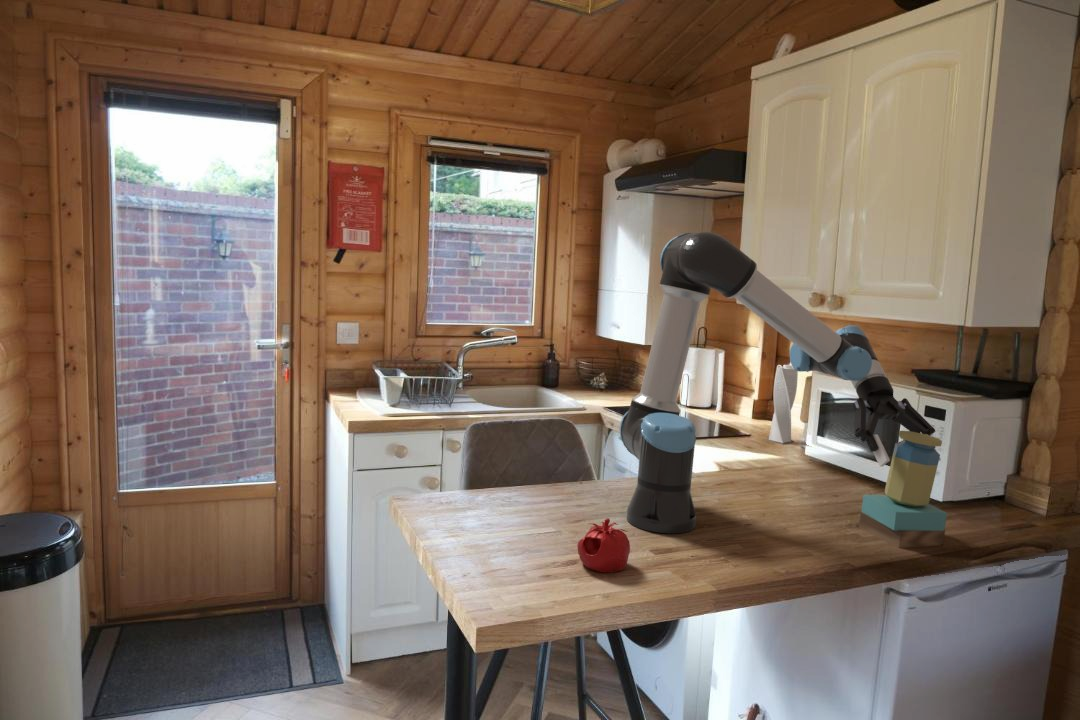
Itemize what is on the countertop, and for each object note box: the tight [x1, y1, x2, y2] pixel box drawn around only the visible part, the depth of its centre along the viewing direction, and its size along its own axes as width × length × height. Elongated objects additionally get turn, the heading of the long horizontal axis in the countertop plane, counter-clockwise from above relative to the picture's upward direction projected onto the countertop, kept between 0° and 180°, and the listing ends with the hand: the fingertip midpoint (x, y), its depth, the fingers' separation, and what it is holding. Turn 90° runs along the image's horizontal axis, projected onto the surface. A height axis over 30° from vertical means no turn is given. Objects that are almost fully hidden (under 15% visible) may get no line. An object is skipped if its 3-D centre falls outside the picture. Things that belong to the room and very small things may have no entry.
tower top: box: [861, 494, 948, 532], centre depth 166 cm, size 12×12×4 cm
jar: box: [884, 430, 943, 507], centre depth 166 cm, size 9×9×15 cm
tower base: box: [858, 512, 946, 549], centre depth 167 cm, size 12×12×4 cm
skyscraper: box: [764, 364, 799, 445], centre depth 255 cm, size 8×8×28 cm
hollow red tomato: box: [577, 517, 631, 574], centre depth 140 cm, size 10×10×9 cm
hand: (910, 463), depth 165 cm, fingers open, 13 cm apart
